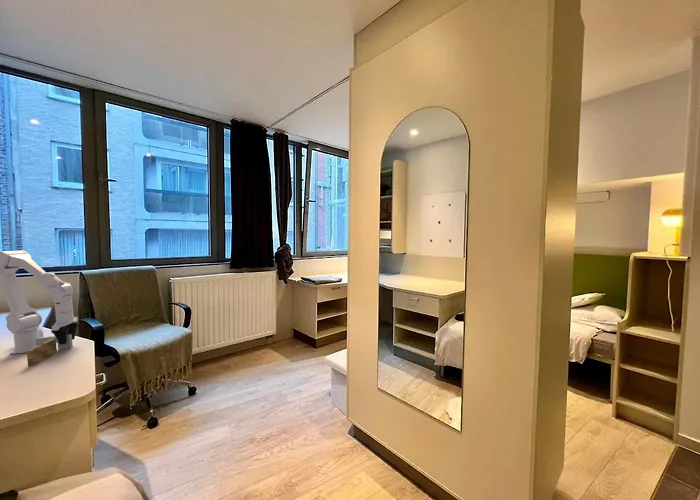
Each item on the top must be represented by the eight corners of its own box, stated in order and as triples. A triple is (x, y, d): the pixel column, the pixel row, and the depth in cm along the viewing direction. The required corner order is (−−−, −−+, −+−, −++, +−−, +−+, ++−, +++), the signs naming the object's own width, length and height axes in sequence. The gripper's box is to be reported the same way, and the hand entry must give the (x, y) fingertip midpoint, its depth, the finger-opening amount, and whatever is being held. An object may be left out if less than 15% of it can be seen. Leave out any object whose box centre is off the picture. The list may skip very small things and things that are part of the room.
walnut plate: (52, 352, 129) (51, 339, 129) (56, 352, 130) (55, 338, 129) (28, 366, 116) (26, 351, 116) (33, 365, 116) (31, 350, 116)
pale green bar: (39, 351, 132) (38, 337, 132) (72, 347, 135) (71, 334, 135) (36, 352, 130) (35, 338, 130) (70, 348, 134) (69, 335, 133)
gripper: (65, 314, 127) (68, 346, 128) (84, 306, 141) (87, 335, 142) (44, 316, 125) (47, 348, 126) (66, 308, 139) (68, 337, 140)
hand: (67, 341), depth 134 cm, fingers open, 5 cm apart
